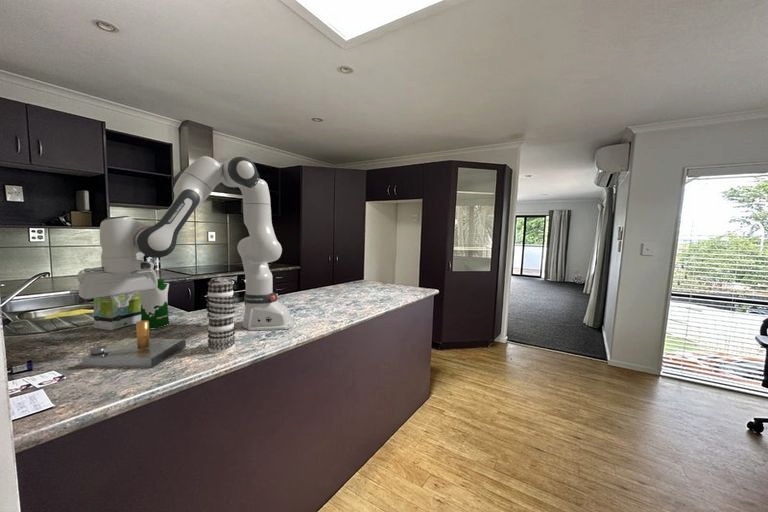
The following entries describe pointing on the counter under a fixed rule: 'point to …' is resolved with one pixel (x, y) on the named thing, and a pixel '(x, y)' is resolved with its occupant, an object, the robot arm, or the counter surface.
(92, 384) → the counter surface
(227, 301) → the decorative candle
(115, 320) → the tea box
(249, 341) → the counter surface
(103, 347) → the lever
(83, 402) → the counter surface
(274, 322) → the robot arm
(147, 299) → the milk carton
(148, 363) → the grey lever board
